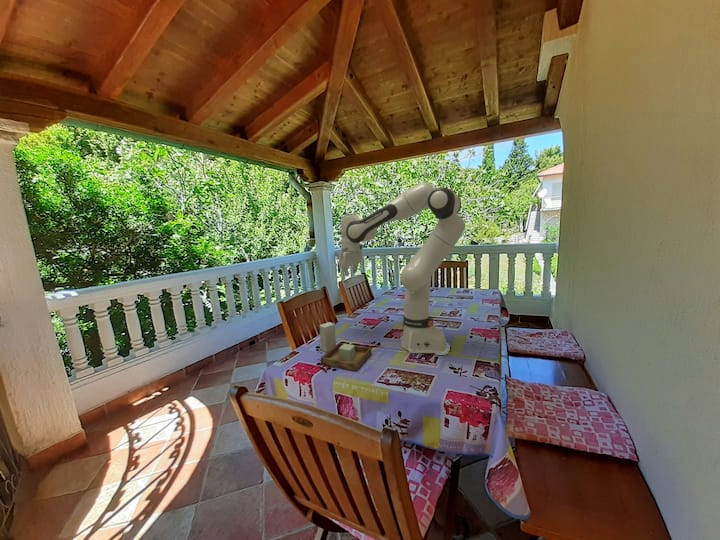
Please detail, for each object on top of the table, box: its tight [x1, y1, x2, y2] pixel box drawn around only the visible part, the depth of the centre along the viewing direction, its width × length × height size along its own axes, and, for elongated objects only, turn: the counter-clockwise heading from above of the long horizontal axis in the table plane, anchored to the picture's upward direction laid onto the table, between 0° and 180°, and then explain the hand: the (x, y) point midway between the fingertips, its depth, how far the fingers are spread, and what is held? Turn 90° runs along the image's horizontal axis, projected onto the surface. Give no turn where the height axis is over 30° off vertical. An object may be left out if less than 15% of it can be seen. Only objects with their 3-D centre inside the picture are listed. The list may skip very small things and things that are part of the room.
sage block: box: [339, 343, 355, 362], centre depth 122 cm, size 5×5×5 cm
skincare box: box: [318, 321, 337, 353], centre depth 131 cm, size 6×4×12 cm
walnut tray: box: [320, 342, 373, 373], centre depth 122 cm, size 16×16×3 cm
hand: (351, 274), depth 148 cm, fingers open, 8 cm apart
